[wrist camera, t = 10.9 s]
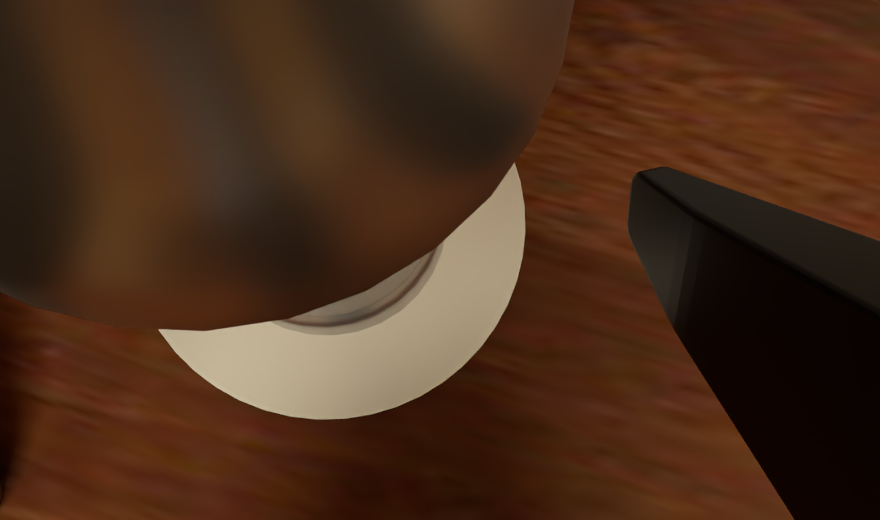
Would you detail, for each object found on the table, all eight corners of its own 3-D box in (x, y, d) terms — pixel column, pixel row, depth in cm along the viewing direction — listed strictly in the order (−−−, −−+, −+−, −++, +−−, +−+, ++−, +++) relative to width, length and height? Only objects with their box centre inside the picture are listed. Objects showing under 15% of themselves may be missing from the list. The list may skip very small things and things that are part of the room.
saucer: (315, 497, 20) (311, 506, 19) (58, 206, 20) (41, 200, 19) (592, 240, 21) (602, 236, 20) (351, -26, 22) (350, -43, 21)
